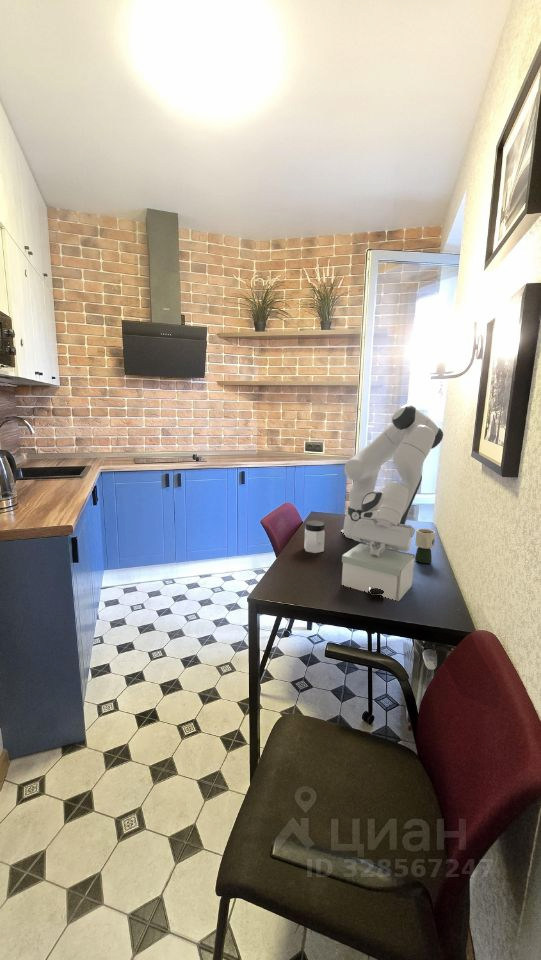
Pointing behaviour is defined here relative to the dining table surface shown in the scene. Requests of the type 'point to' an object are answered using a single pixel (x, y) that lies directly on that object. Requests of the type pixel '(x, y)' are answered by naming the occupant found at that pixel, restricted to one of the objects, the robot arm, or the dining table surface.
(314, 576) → the dining table surface
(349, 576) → the channel
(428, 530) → the character mug
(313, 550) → the jar
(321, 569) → the dining table surface
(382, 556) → the cover
